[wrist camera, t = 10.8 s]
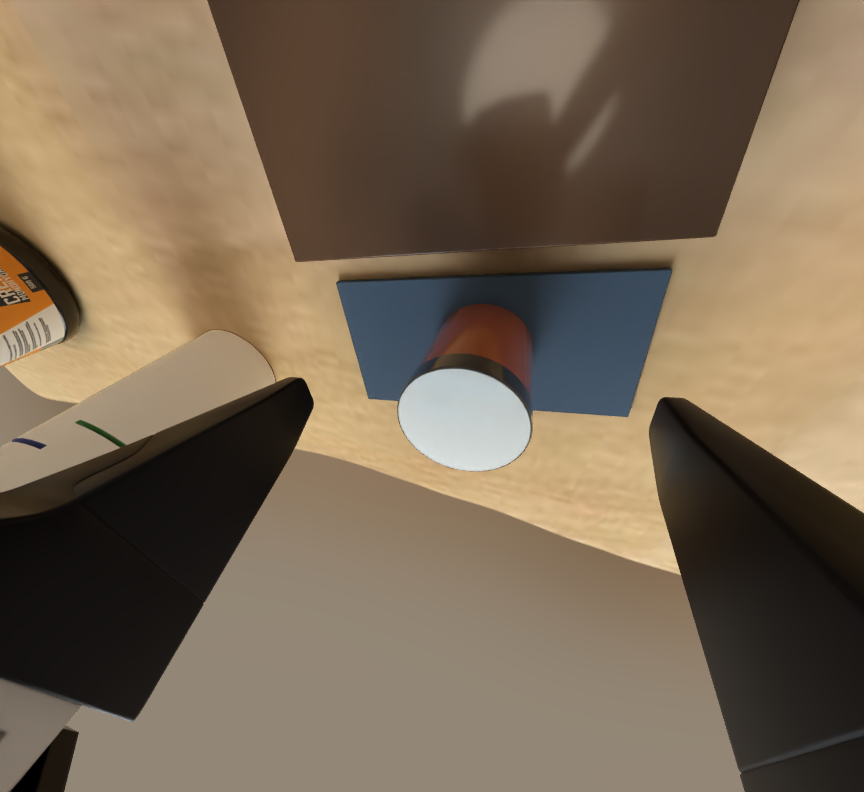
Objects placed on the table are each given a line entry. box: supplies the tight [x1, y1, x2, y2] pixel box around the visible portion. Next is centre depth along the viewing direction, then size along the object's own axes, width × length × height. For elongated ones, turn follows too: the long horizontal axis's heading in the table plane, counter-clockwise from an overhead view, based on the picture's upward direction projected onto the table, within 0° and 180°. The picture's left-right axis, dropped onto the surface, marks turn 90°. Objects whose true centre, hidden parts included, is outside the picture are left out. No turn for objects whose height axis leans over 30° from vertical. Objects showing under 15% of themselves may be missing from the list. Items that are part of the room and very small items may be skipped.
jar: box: [397, 304, 533, 471], centre depth 18 cm, size 6×6×7 cm
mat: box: [336, 268, 672, 417], centre depth 21 cm, size 18×9×1 cm, turn 96°
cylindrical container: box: [0, 330, 276, 493], centre depth 18 cm, size 7×7×25 cm
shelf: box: [207, 0, 799, 262], centre depth 12 cm, size 18×11×5 cm, turn 96°
